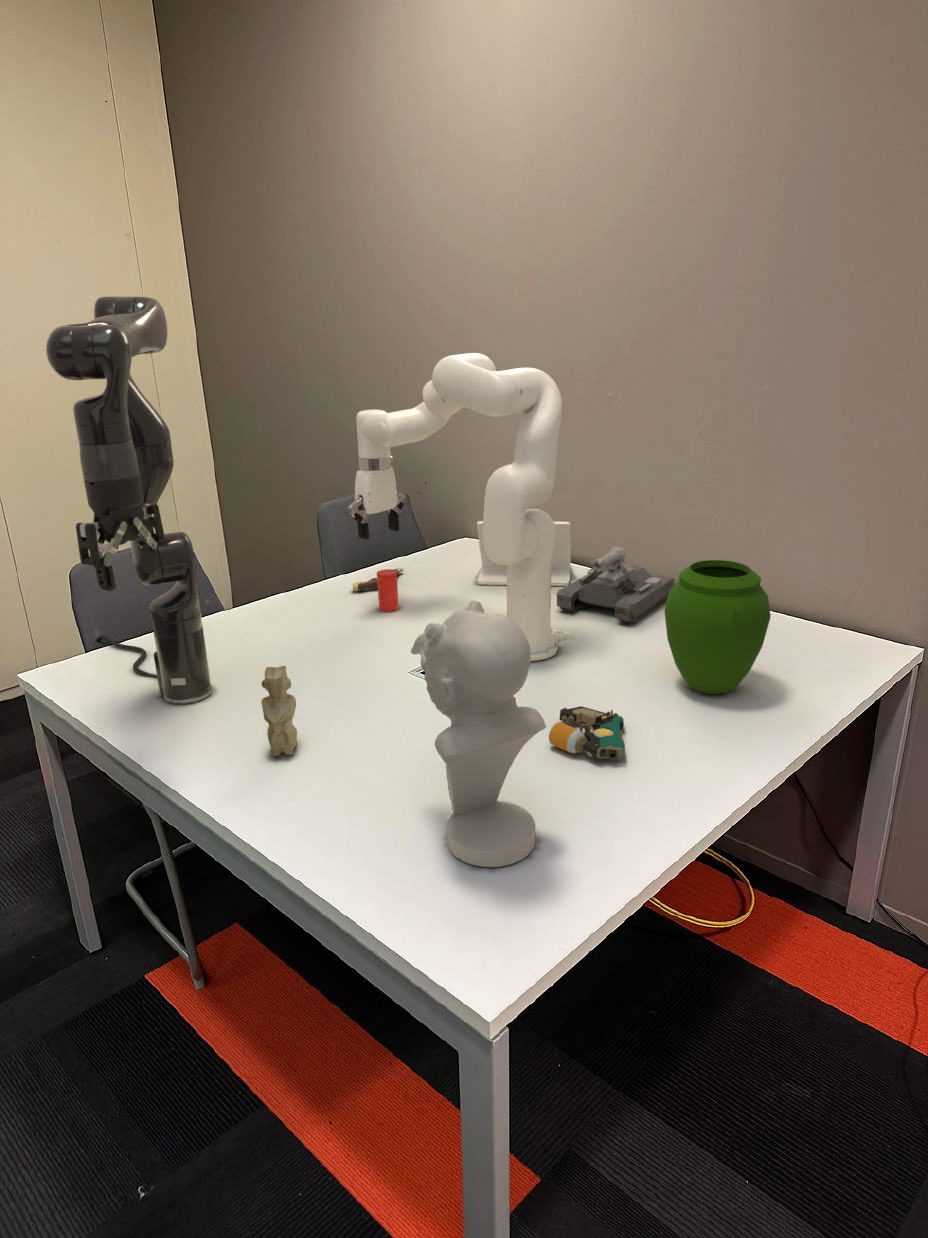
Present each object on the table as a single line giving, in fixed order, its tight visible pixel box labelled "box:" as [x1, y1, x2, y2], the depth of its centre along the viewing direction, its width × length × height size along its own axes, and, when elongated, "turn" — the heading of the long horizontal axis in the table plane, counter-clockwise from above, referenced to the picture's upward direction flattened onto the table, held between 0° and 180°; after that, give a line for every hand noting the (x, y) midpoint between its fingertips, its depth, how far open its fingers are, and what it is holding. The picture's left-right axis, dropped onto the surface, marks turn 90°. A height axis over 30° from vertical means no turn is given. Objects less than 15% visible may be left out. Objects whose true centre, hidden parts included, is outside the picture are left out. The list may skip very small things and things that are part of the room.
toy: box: [556, 546, 676, 624], centre depth 212 cm, size 25×20×15 cm
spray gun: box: [548, 705, 626, 761], centre depth 149 cm, size 4×17×15 cm
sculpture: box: [261, 665, 298, 757], centre depth 147 cm, size 6×7×15 cm
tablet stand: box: [476, 520, 572, 587], centre depth 236 cm, size 18×25×17 cm
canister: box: [376, 568, 400, 613], centre depth 215 cm, size 5×5×10 cm
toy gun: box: [352, 567, 404, 592], centre depth 236 cm, size 3×19×10 cm
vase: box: [664, 559, 772, 695], centre depth 164 cm, size 20×20×24 cm
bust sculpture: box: [410, 599, 547, 868], centre depth 121 cm, size 16×24×35 cm
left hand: (130, 581), depth 127 cm, fingers open, 8 cm apart
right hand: (379, 534), depth 207 cm, fingers open, 9 cm apart
